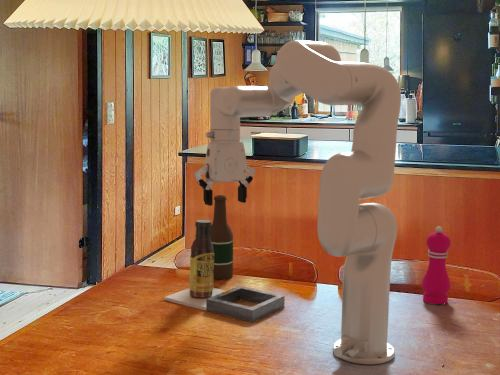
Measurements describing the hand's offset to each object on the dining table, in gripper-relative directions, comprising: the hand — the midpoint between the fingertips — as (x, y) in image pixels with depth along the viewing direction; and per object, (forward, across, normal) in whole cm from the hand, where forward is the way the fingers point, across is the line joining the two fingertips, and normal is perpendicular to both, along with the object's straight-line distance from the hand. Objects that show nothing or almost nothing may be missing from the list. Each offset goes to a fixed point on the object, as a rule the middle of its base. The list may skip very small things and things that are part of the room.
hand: (225, 203), depth 168 cm
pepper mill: (+26, +48, -27) cm, 61 cm away
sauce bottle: (+25, -5, +4) cm, 25 cm away
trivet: (+25, -5, +4) cm, 26 cm away
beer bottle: (+25, +9, +20) cm, 33 cm away
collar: (+26, +1, -9) cm, 27 cm away
